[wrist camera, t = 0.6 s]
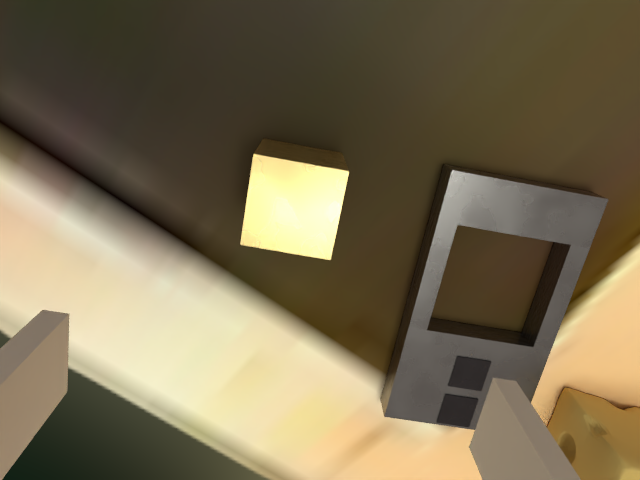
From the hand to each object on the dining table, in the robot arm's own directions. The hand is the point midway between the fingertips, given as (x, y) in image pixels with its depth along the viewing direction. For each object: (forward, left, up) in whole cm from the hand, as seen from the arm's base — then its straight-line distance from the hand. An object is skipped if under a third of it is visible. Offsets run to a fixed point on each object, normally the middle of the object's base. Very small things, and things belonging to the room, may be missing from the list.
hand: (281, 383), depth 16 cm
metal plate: (+4, +14, -18) cm, 23 cm away
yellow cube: (-2, 0, -18) cm, 19 cm away
